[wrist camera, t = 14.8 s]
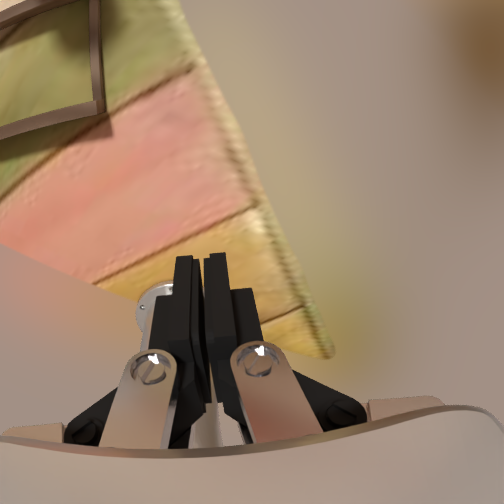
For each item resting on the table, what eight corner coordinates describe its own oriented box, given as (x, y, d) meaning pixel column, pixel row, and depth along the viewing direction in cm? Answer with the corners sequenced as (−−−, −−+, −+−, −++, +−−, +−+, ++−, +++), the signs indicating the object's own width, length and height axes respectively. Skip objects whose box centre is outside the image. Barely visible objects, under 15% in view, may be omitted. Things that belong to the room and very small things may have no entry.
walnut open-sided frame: (105, 111, 31) (97, 114, 28) (-32, 150, 29) (-45, 156, 26) (100, -17, 23) (92, -23, 20) (-41, 42, 21) (-54, 42, 18)
